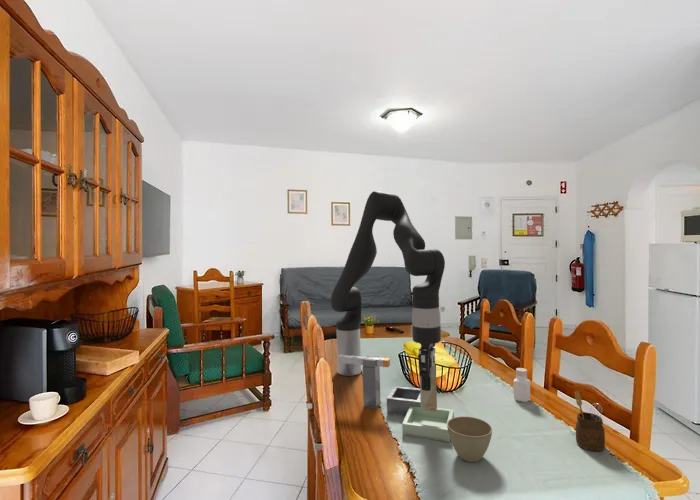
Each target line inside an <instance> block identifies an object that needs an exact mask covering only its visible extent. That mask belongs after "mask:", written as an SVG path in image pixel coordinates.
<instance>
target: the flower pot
mask: <svg viewBox="0 0 700 500" xmlns="http://www.w3.org/2000/svg"><path fill="white" fill-rule="evenodd" d="M447 428H448V433H449V436H450V443H451V444H452V447H453V448H454V450H455V452H456V454H457V456H458V457H459V458H460V459H461V460H463V461H465V462H469V463H477V462H479V461H481V460H482V458H483V457H484V456H485V454H486V452H487V450H488V449H489V446H490V442H491V441H492V440H491V439H492V435H493V427H492V426H491V424H490V423H488V422H487V421H485V420H484V419H480V418H477V417H472V416H463V415H462V416H456V417H455V416H454V418H452V419H450V420H449V421H448V422H447Z"/></svg>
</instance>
